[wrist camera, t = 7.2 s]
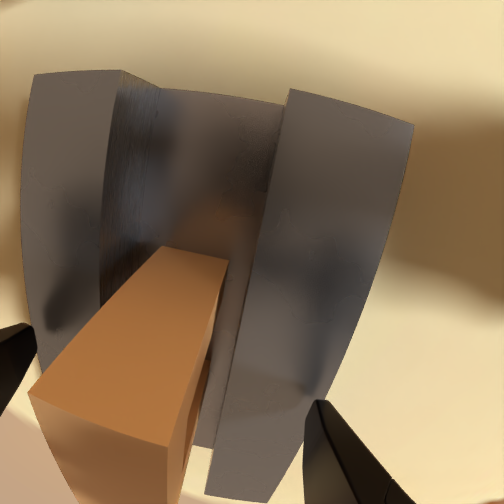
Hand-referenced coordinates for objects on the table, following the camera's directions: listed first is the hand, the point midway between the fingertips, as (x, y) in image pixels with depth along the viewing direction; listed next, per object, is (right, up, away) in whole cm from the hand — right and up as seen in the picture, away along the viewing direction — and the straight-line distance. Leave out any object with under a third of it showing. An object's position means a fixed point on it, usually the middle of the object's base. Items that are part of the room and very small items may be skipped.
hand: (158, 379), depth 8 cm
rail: (0, +1, +4) cm, 4 cm away
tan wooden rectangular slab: (0, +1, +3) cm, 4 cm away
